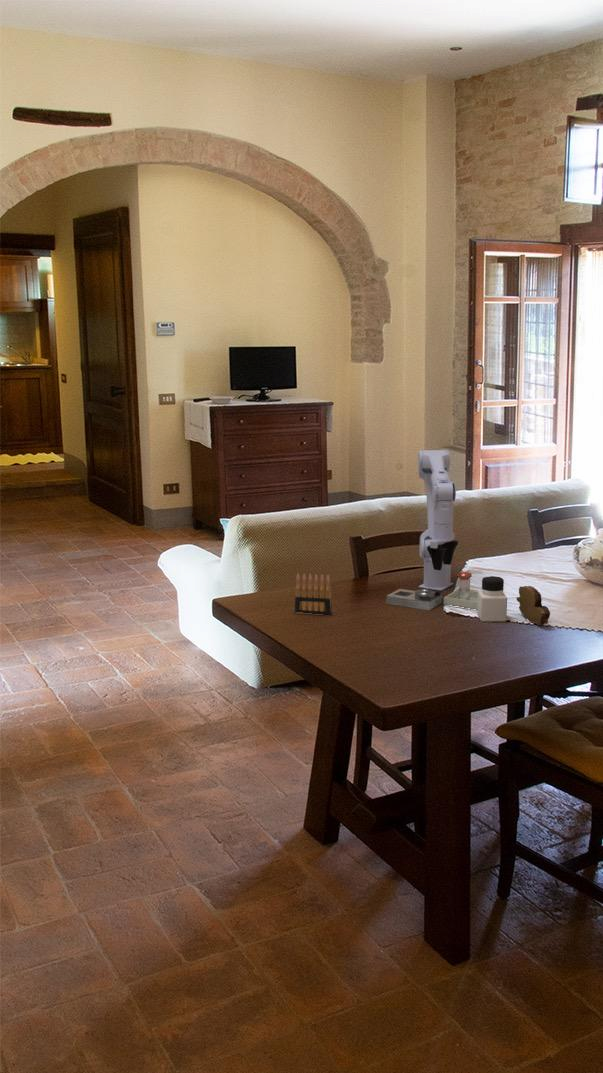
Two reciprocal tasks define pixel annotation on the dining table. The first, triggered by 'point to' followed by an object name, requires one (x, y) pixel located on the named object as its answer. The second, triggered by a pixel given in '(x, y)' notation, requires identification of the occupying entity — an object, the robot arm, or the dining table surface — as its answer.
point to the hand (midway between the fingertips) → (442, 567)
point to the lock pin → (464, 585)
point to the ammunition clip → (313, 596)
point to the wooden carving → (532, 605)
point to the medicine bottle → (492, 600)
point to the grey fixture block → (415, 598)
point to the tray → (454, 601)
